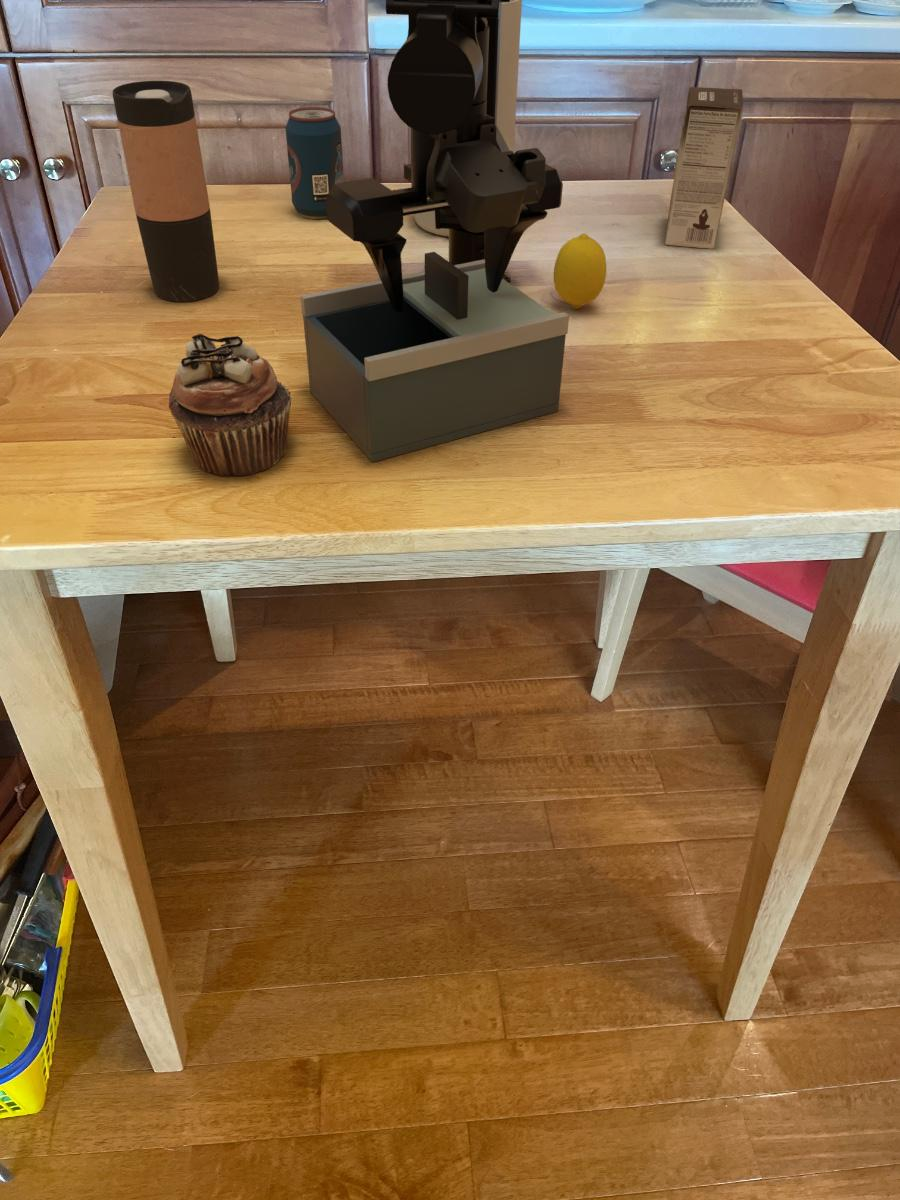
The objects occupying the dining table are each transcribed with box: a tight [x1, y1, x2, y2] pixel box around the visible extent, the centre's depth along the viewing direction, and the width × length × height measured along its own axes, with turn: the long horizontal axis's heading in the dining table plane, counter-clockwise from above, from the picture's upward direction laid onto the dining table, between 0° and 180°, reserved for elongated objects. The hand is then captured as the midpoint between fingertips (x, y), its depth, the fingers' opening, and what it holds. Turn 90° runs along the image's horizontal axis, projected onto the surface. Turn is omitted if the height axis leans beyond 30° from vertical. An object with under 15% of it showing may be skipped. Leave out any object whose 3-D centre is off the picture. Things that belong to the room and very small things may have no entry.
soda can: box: [285, 106, 345, 220], centre depth 119 cm, size 7×7×12 cm
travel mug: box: [112, 80, 220, 303], centre depth 97 cm, size 8×8×20 cm
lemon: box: [553, 233, 607, 310], centre depth 98 cm, size 6×6×8 cm
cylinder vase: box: [413, 0, 523, 238], centre depth 112 cm, size 12×12×25 cm
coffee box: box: [664, 86, 744, 250], centre depth 113 cm, size 9×6×16 cm
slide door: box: [403, 251, 555, 337], centre depth 80 cm, size 12×9×4 cm
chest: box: [299, 259, 570, 463], centre depth 82 cm, size 14×19×9 cm
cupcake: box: [168, 333, 292, 477], centre depth 75 cm, size 10×10×10 cm
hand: (445, 300), depth 79 cm, fingers open, 9 cm apart
